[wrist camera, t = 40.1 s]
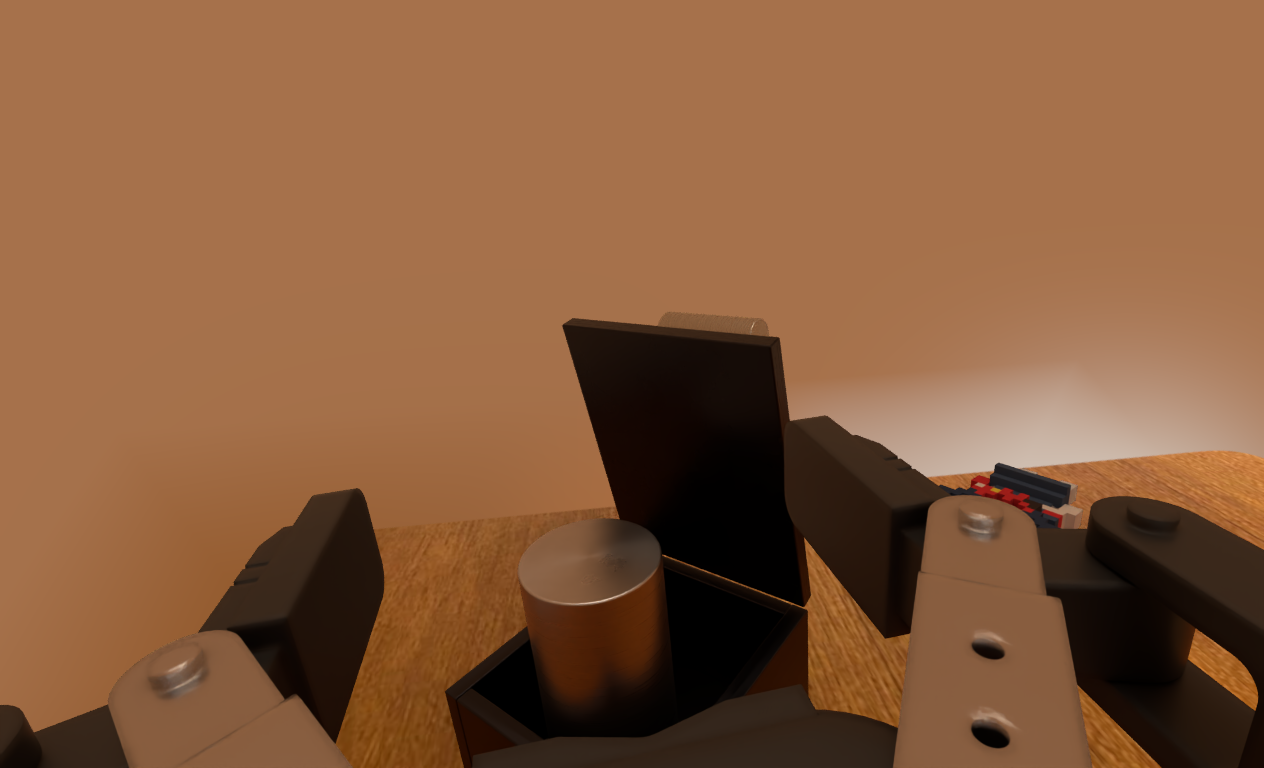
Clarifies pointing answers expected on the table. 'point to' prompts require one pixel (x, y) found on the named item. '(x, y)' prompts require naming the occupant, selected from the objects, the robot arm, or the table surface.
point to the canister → (599, 629)
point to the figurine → (1028, 495)
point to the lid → (696, 441)
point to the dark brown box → (701, 654)
